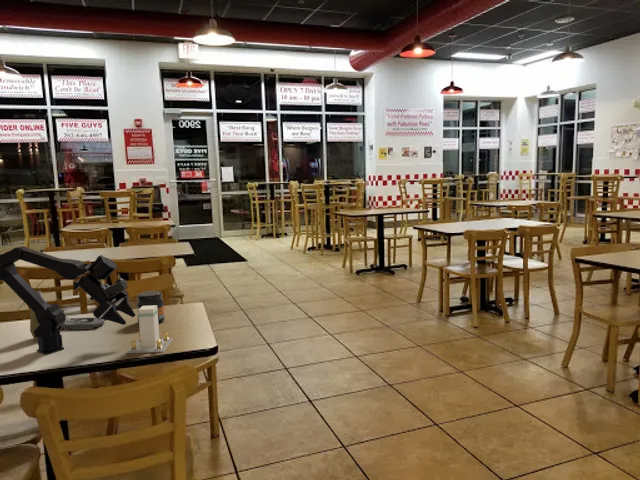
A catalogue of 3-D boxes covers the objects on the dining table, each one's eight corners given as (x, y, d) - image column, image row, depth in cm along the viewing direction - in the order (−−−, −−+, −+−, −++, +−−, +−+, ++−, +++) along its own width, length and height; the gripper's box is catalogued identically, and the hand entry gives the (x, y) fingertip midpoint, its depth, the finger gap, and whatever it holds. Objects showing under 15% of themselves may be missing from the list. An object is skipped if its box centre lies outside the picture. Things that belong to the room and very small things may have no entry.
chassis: (127, 353, 169) (126, 343, 168) (138, 341, 181) (138, 332, 180) (163, 352, 169) (162, 342, 168) (172, 340, 181) (171, 331, 180)
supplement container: (169, 318, 209) (167, 290, 208) (157, 326, 199) (155, 296, 197) (145, 318, 211) (143, 290, 209) (132, 325, 201) (130, 296, 199)
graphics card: (51, 325, 194) (66, 315, 205) (52, 334, 194) (67, 324, 206) (95, 324, 194) (107, 315, 206) (96, 333, 195) (108, 323, 206)
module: (140, 346, 172) (138, 309, 171) (145, 341, 177) (142, 305, 176) (155, 345, 172) (153, 309, 171) (159, 340, 177) (157, 305, 176)
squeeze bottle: (28, 343, 182) (23, 294, 180) (34, 336, 190) (29, 290, 188) (52, 340, 185) (47, 292, 182) (57, 334, 192) (53, 288, 190)
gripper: (100, 278, 162) (136, 310, 163) (121, 267, 180) (154, 297, 182) (77, 302, 163) (113, 334, 164) (100, 289, 181) (133, 318, 183)
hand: (130, 319), depth 173 cm, fingers open, 9 cm apart
